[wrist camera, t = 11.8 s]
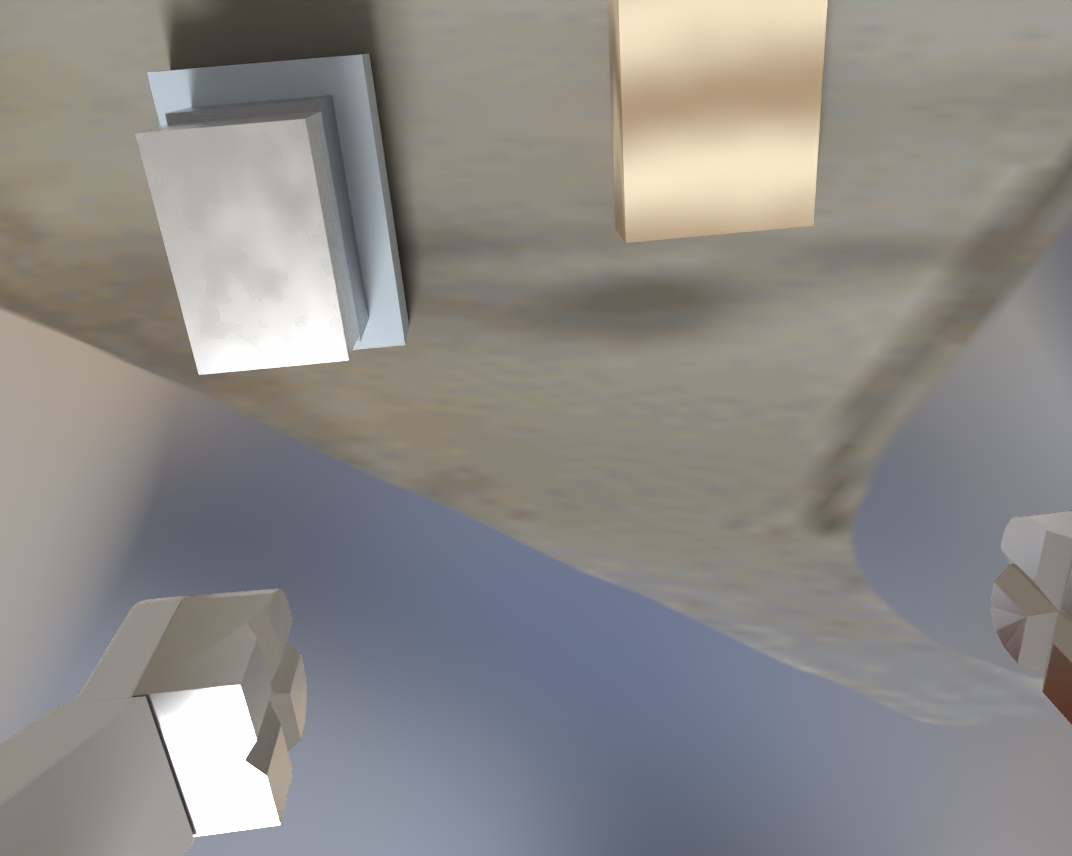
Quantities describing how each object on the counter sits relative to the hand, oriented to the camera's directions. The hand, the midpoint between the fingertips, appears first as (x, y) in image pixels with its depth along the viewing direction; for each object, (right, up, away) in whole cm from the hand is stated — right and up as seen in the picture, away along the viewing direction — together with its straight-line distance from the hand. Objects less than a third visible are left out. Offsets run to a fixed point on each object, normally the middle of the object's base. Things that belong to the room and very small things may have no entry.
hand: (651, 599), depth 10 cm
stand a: (+7, +18, +30) cm, 36 cm away
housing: (-13, +11, +29) cm, 33 cm away
